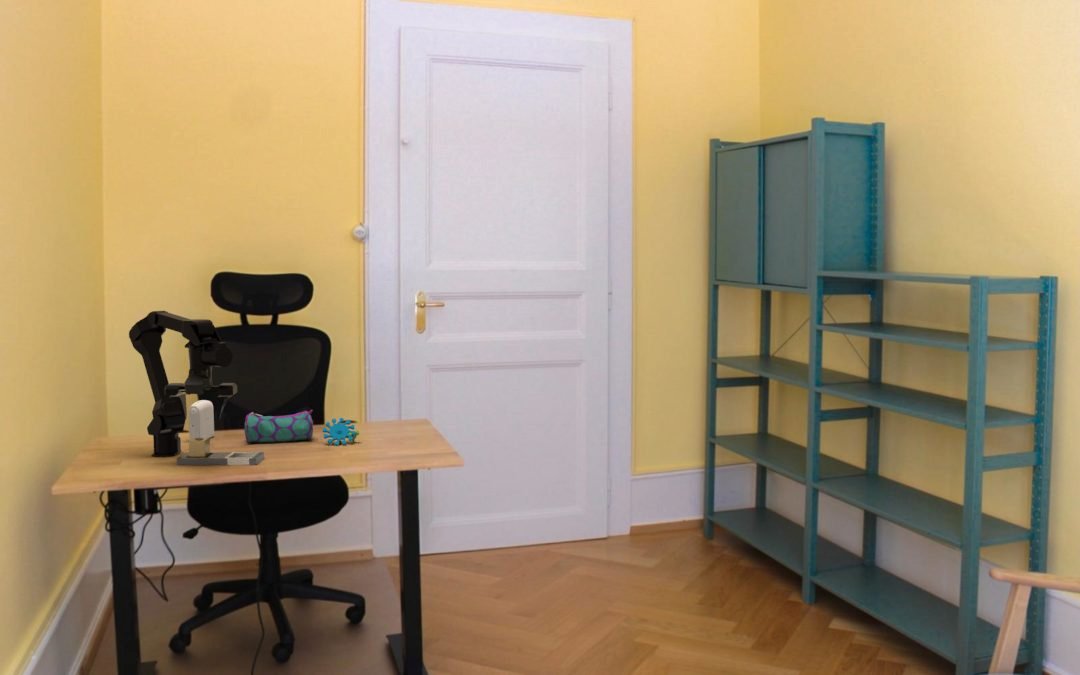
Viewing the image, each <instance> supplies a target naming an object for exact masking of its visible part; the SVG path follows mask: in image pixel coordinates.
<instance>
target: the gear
mask: <svg viewBox="0 0 1080 675" xmlns="http://www.w3.org/2000/svg"><path fill="white" fill-rule="evenodd" d="M344 419H345V418H343V417H339V419H338V421H337V419H336V418H332V419H331V422H332V426H331V422H329V421H327V422H326V423H325V426H326V427H323V428H322V433H323V439H325V440H326V439H327V443H328V444H330V445H331V444H332V443H333V442H334V446H336V445H337V446H336V447H338V446H339V445H340V442H341V441H342V442H341V444H342V446H346V445H347V440H346V439H348V442H353V443H355V442H354V441H356V439H357V436H360V431H359V430H355V424H351V420H350V419H347V420H346V421H345V420H344ZM344 421H345V422H344Z"/></svg>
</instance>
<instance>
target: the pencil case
mask: <svg viewBox="0 0 1080 675" xmlns="http://www.w3.org/2000/svg"><path fill="white" fill-rule="evenodd" d="M312 413H313V409H311V410H309V411H307V410H303V411H301V412H297V413H294V414H287V415H275V416H274V415H273V416H272V415H267V416H264V415H262V414H258V413H255V412H254V411H252V412H249V413H248V414H246V416H245V418H244V424H243V431H244V435H245V440H246V443H247V444H252V443H254V444H255V443H258V444H259V443H284V442H285V443H286V442H295V441H302V440H312V438H313V435H314V420H313V419H312V416H311V414H312Z"/></svg>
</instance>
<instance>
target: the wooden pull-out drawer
mask: <svg viewBox="0 0 1080 675" xmlns="http://www.w3.org/2000/svg"><path fill="white" fill-rule="evenodd" d="M210 439H211V437H210V438H193V439H191V440H190V439H189V440H188V452H189V458H207V457H209V456H210V452H211V443H210Z"/></svg>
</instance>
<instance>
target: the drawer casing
mask: <svg viewBox="0 0 1080 675" xmlns="http://www.w3.org/2000/svg"><path fill="white" fill-rule="evenodd" d="M264 459H265V452H263V451H262V452H261V451H255V452H253V451H252V452H251V451H249V452H248V451H247V452H246V451H245V452H241V451H240V452H239V451H238V452H237V451H230V452H227V451H225V452H223V451H220V452H217V451H214V452H211V451H210V456H209V457H207V458H189V451H188V452H187V451H186V452H185V453H184V454H182V455H180V456H178V457H176V465H177V466H216V465H217V466H219V465H221V466H223V465H224V466H227V465H228V466H235V465H236V466H246V465H248V466H249V465H250V466H255V465H256V466H257V465H258V464H260V462H262V461H263V460H264Z"/></svg>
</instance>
